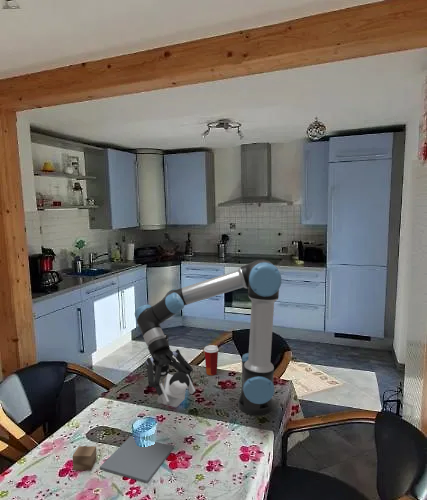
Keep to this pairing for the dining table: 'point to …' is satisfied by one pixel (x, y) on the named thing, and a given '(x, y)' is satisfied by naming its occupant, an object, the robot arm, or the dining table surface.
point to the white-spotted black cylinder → (165, 368)
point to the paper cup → (211, 359)
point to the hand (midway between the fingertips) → (180, 397)
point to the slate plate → (137, 460)
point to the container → (175, 388)
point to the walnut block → (84, 458)
